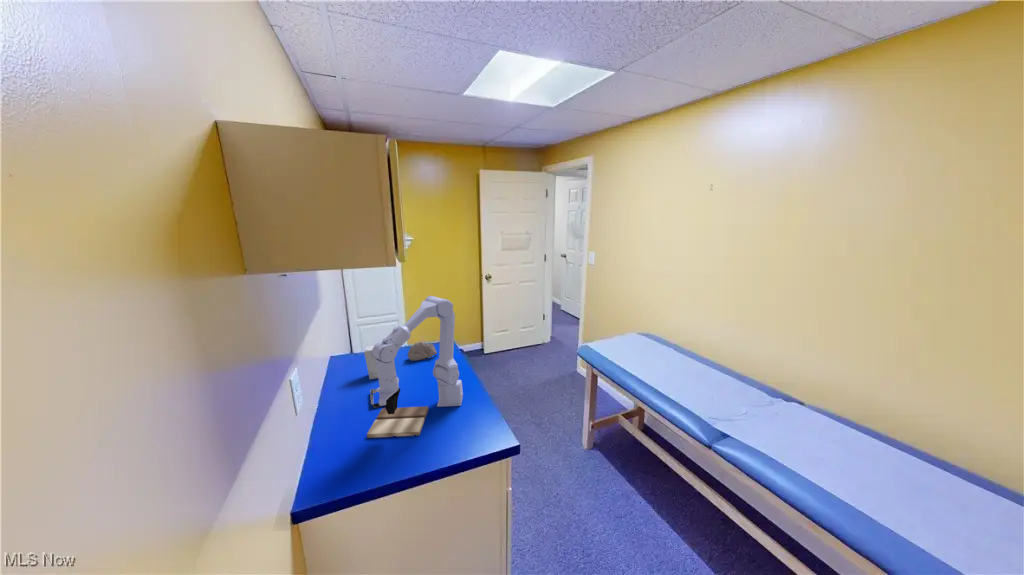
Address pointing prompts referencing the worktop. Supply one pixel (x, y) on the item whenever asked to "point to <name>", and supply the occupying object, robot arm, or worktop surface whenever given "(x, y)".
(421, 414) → the walnut strip
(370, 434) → the maple plank
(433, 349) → the pumice stone
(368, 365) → the skincare box
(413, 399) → the worktop surface
